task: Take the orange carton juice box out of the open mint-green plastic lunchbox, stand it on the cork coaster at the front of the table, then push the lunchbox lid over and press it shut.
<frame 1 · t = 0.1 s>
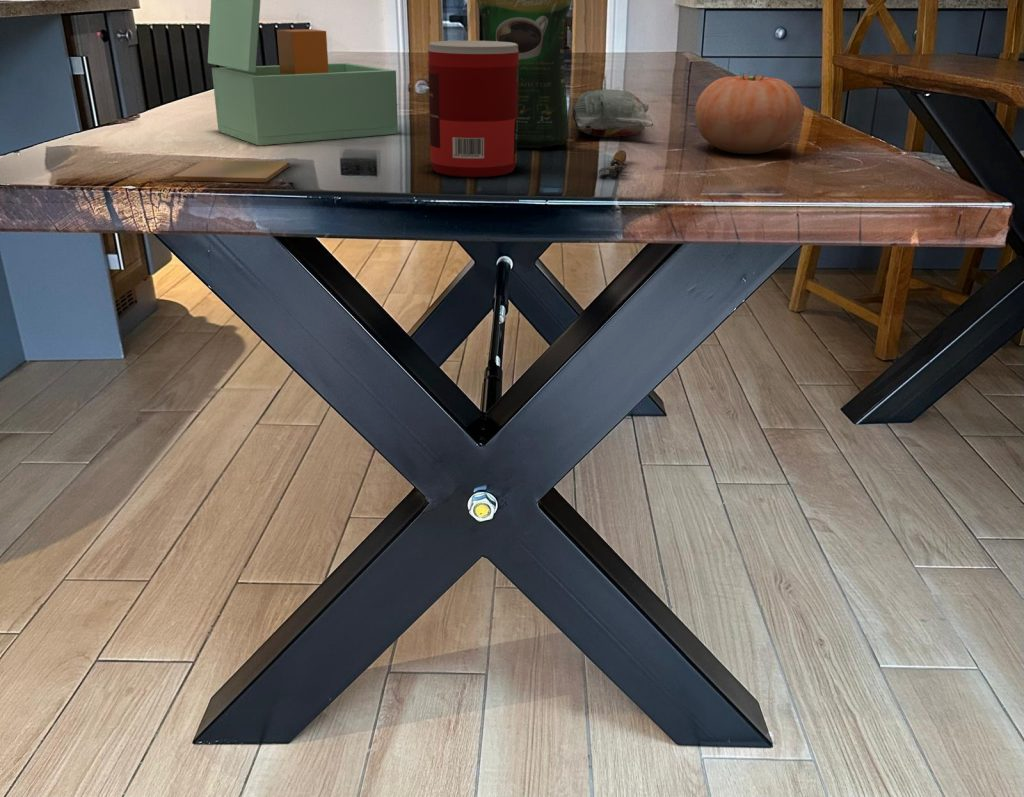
can opener: (613, 171, 89), on the table
orange pumpkin: (743, 153, 100), on the table
coaster: (234, 173, 85), on the table
canned food: (473, 172, 88), on the table
green coffee bag: (522, 146, 102), on the table
packaged food: (613, 136, 109), on the table
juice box: (307, 125, 107), point 1 cm above the table, touching lunchbox
lunchbox: (308, 132, 108), on the table
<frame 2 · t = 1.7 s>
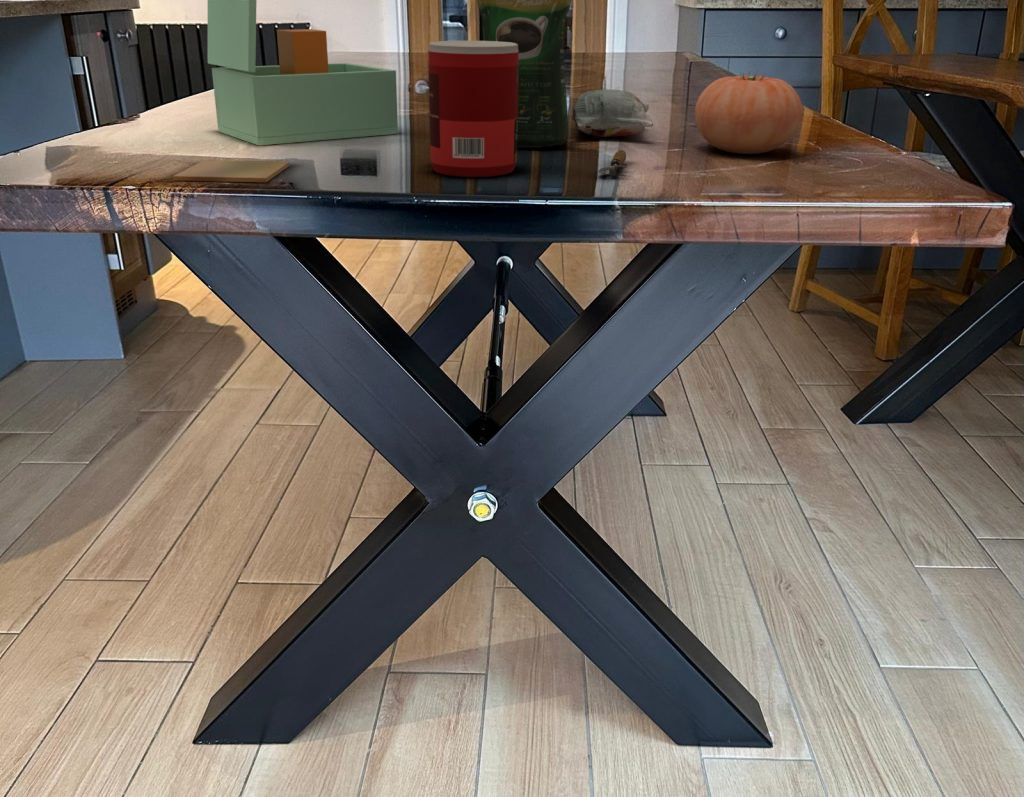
everything else where it was.
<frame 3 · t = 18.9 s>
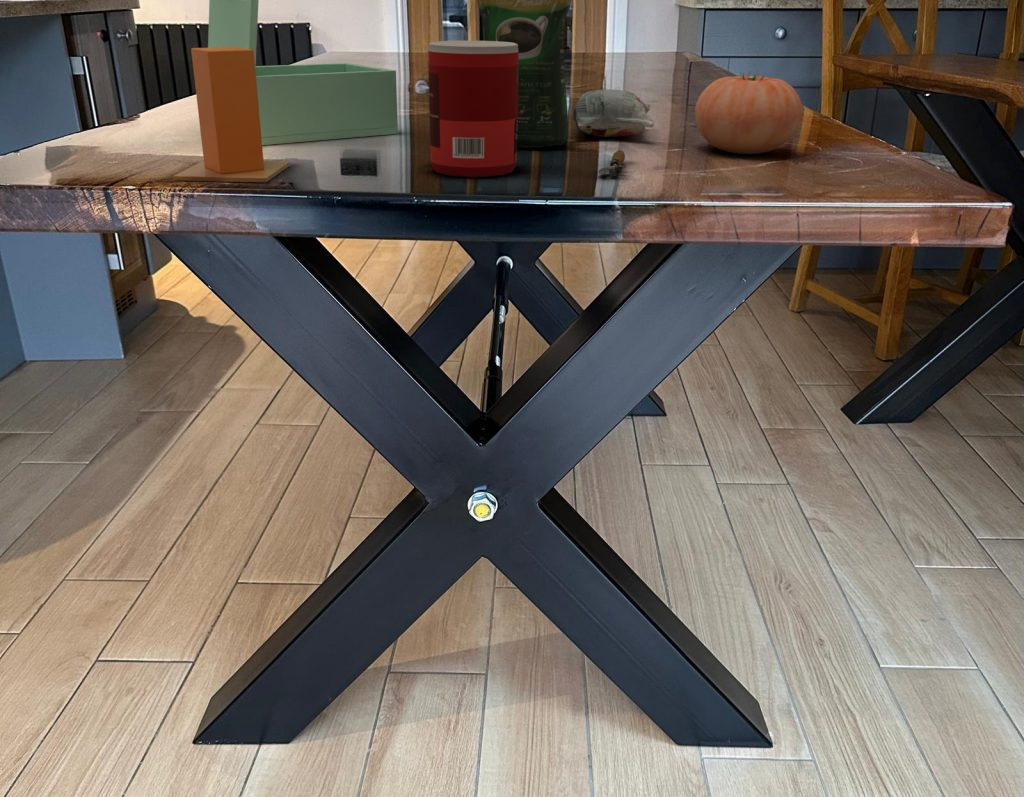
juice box: (234, 168, 85), resting on coaster
everything else where it was.
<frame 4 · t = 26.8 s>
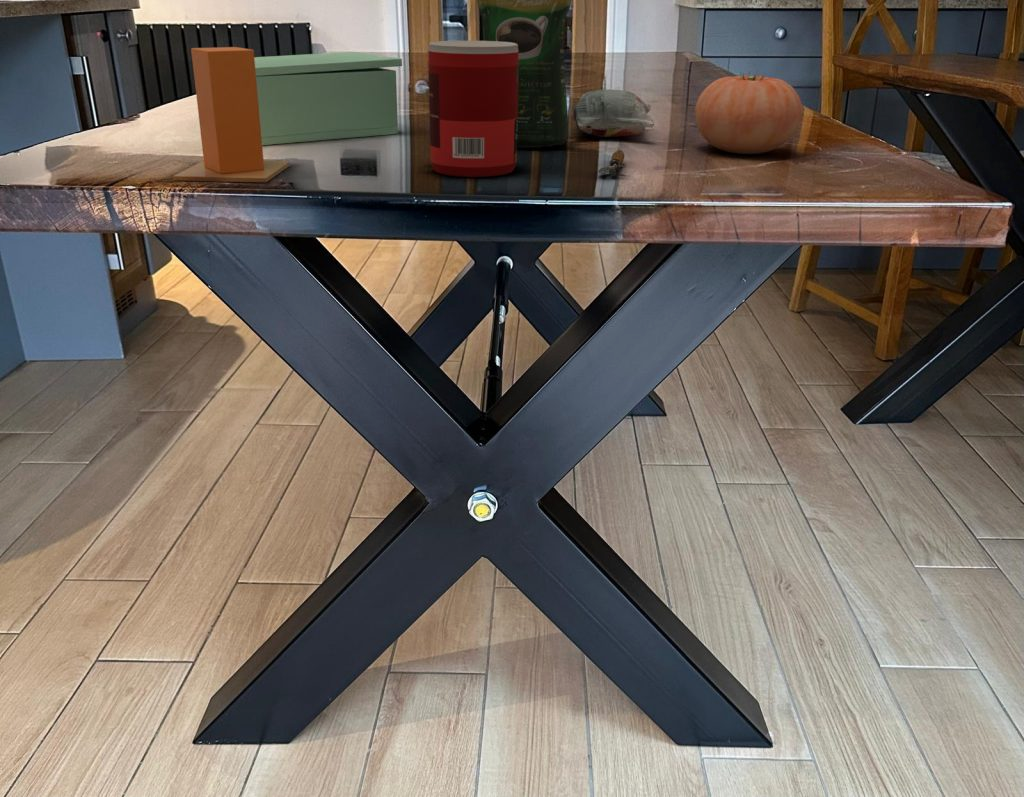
lunchbox lid: (306, 63, 105), point 7 cm above the table, hinge at 1.2°
everything else where it was.
at the end: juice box 0.1 cm off-centre on the coaster, point 0.4 cm above the coaster's base; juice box tilted 0°; lunchbox lid at +1° (first picture: +80°) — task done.
